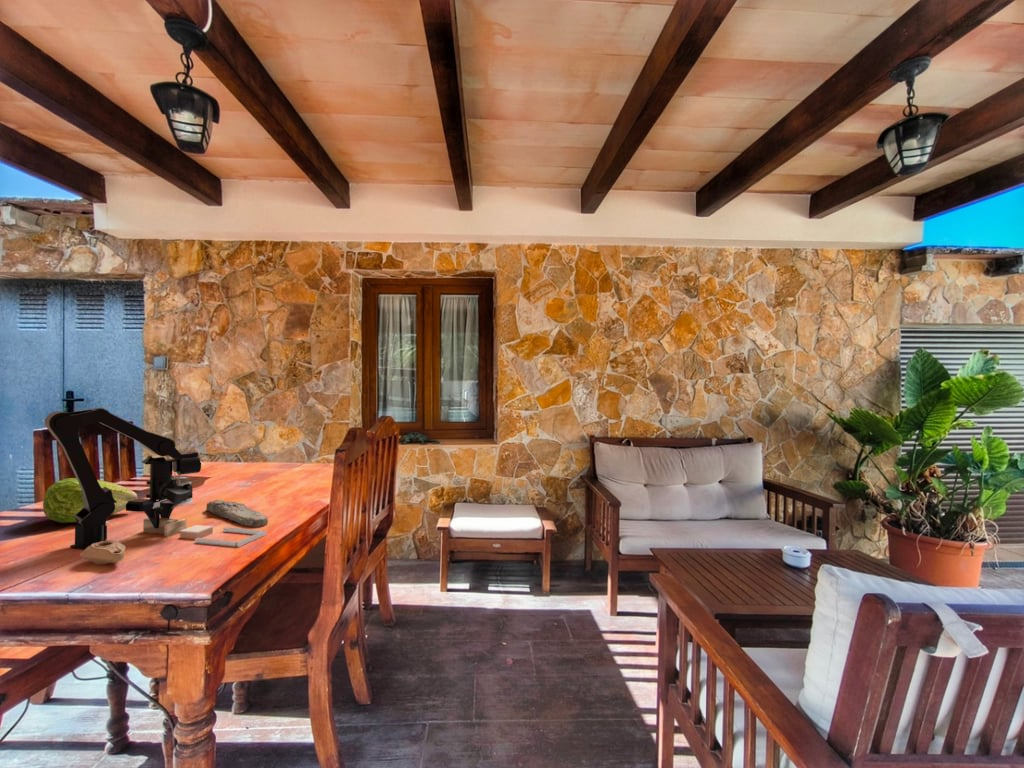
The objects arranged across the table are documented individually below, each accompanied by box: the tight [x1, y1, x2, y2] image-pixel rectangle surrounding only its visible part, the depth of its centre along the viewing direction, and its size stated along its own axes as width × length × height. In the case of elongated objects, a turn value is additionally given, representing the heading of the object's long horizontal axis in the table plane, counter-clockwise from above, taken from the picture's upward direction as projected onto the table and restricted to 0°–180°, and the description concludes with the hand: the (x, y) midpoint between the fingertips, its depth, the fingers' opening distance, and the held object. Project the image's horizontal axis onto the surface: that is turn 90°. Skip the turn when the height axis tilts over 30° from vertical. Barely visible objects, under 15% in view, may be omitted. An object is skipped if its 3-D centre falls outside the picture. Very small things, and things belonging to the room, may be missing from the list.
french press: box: [172, 437, 194, 507], centre depth 190 cm, size 10×12×25 cm
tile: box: [179, 524, 214, 540], centre depth 154 cm, size 6×6×2 cm
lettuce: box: [42, 477, 138, 524], centre depth 169 cm, size 17×24×14 cm
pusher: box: [142, 517, 188, 538], centre depth 156 cm, size 7×11×4 cm, turn 79°
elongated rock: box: [206, 499, 269, 528], centre depth 174 cm, size 35×5×10 cm
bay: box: [194, 526, 267, 548], centre depth 151 cm, size 12×14×1 cm
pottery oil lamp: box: [79, 539, 127, 566], centre depth 130 cm, size 9×12×7 cm
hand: (160, 527), depth 156 cm, fingers closed on pusher, 2 cm apart
